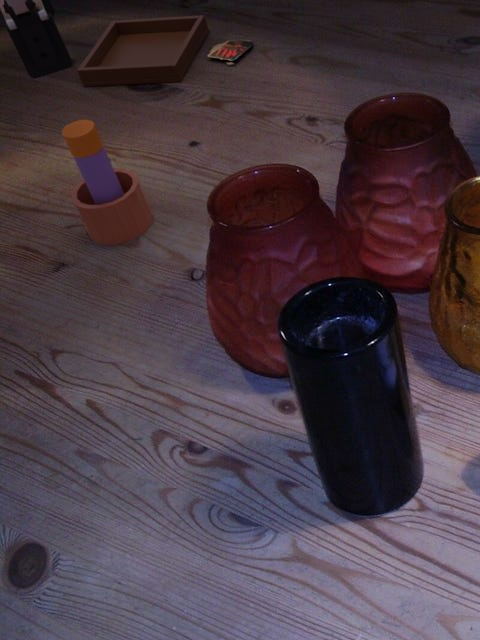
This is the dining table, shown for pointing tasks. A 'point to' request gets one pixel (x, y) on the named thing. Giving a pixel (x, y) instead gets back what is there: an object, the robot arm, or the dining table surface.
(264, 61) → the dining table surface
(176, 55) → the tray
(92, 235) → the cup
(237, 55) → the matchbox
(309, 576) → the dining table surface
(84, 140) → the glue stick
